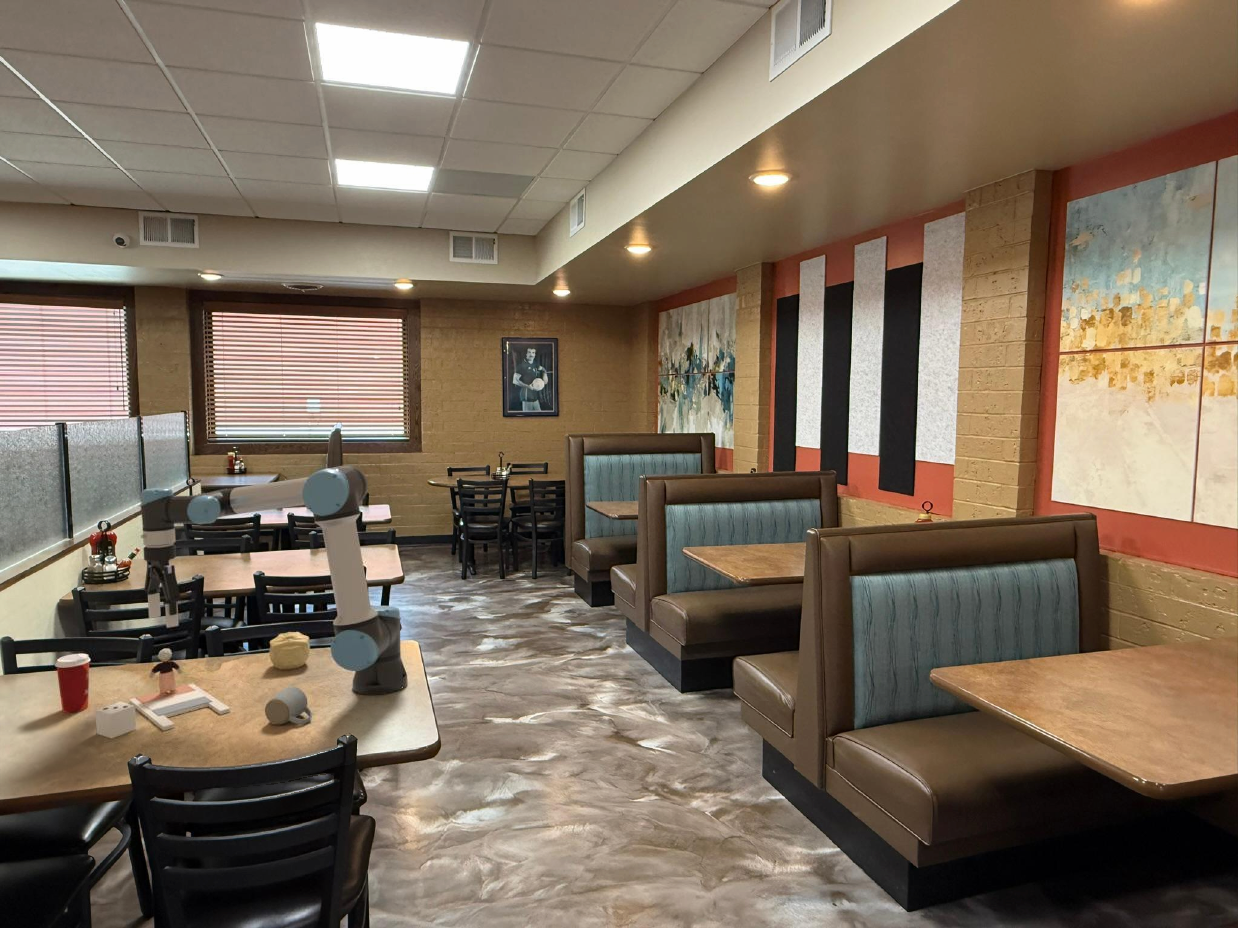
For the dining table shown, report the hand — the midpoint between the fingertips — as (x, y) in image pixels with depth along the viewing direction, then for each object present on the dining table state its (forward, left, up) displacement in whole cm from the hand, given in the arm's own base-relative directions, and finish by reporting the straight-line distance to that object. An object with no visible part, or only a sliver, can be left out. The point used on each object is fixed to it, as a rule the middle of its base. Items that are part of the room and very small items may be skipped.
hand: (163, 621), depth 214 cm
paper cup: (+9, +19, -22) cm, 30 cm away
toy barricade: (-10, 0, -21) cm, 24 cm away
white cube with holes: (-15, +16, -21) cm, 31 cm away
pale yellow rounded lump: (0, -35, -22) cm, 41 cm away
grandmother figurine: (0, 0, -20) cm, 20 cm away
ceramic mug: (-39, -16, -22) cm, 48 cm away
